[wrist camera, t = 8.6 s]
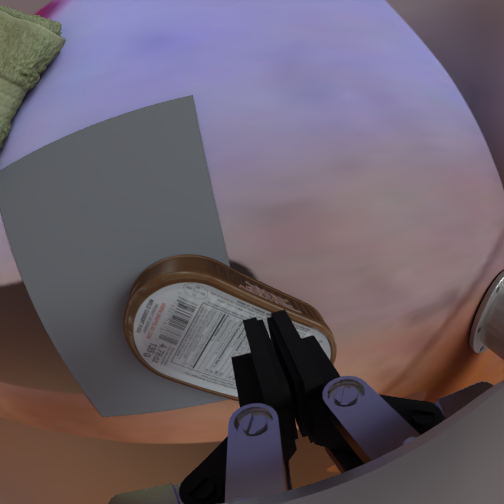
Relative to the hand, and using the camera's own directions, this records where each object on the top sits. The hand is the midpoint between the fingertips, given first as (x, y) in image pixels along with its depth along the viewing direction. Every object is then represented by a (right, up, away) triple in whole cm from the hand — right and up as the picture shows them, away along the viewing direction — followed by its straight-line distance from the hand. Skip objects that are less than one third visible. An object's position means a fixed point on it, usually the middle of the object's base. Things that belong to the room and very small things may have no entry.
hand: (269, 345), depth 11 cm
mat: (-9, +1, +6) cm, 11 cm away
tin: (0, +1, +6) cm, 6 cm away
